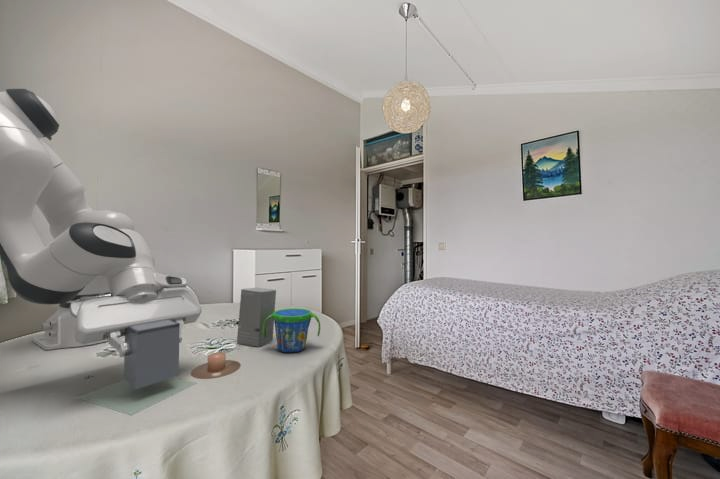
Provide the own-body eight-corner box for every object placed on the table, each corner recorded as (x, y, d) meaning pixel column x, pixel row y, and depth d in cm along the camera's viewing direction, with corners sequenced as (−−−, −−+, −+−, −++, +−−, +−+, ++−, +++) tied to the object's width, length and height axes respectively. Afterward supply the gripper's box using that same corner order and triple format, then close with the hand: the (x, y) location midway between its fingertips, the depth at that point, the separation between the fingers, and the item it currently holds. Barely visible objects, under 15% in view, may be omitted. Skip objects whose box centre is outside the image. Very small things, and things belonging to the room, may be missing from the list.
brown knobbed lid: (179, 377, 61) (179, 359, 61) (217, 360, 70) (218, 345, 70) (214, 386, 57) (215, 366, 58) (250, 367, 67) (250, 350, 67)
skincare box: (236, 344, 83) (237, 289, 84) (254, 337, 90) (254, 286, 90) (259, 348, 80) (260, 291, 80) (275, 340, 86) (276, 288, 87)
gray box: (123, 378, 54) (125, 325, 54) (165, 366, 59) (166, 318, 60) (135, 389, 50) (136, 331, 50) (178, 375, 55) (179, 323, 56)
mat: (76, 402, 51) (76, 397, 51) (146, 374, 62) (147, 371, 62) (131, 420, 46) (131, 415, 46) (197, 386, 57) (197, 382, 57)
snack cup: (322, 342, 85) (322, 308, 85) (317, 355, 74) (318, 316, 75) (268, 342, 84) (269, 308, 85) (257, 356, 74) (258, 316, 74)
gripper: (70, 287, 51) (80, 355, 45) (193, 277, 67) (212, 326, 61) (65, 309, 54) (74, 376, 47) (184, 294, 70) (202, 343, 64)
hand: (153, 347), depth 54 cm, fingers closed on gray box, 7 cm apart
